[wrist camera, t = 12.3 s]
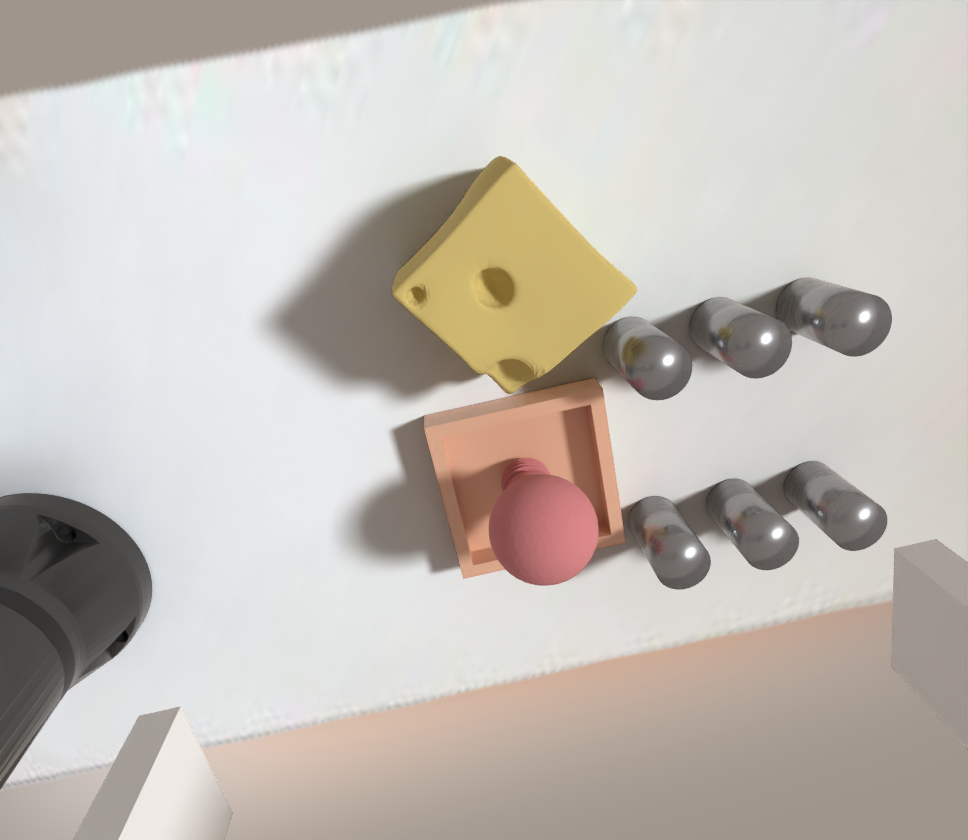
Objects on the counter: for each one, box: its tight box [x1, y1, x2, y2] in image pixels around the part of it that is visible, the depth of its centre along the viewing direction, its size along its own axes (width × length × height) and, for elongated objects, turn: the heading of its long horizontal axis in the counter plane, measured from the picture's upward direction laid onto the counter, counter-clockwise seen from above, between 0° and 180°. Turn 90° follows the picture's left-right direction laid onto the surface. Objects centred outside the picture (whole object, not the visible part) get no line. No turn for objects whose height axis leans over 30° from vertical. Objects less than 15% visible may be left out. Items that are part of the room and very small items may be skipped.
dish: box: [424, 378, 626, 579], centre depth 50 cm, size 13×13×3 cm
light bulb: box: [489, 458, 598, 585], centre depth 45 cm, size 7×7×12 cm
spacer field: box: [603, 278, 892, 589], centre depth 48 cm, size 17×19×7 cm
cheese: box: [392, 156, 637, 394], centre depth 41 cm, size 10×11×10 cm
